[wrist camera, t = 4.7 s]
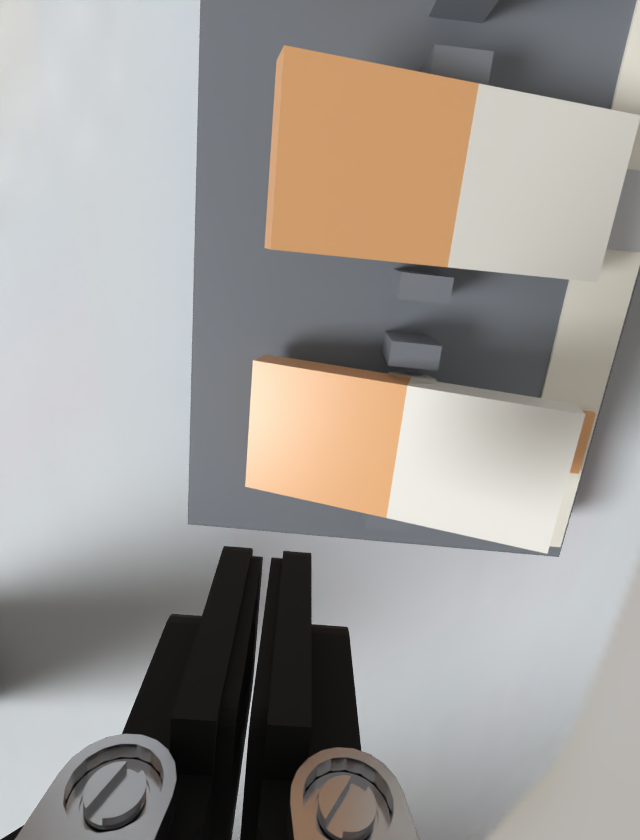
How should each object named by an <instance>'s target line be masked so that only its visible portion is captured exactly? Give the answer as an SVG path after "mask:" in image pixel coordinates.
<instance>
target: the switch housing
mask: <svg viewBox="0 0 640 840" xmlns="http://www.w3.org/2000/svg"><path fill="white" fill-rule="evenodd" d="M284 45H286V46H291V47H296V48H301V49H307V50H312V51H317V52H322V53H327V54H332V55H337V56H342V57H347V58H352V59H357V60H362V61H367V62H372V63H377V64H383V65H388V66H393V67H398V68H403V69H408V70H413V71H418V72H423V73H428V74H433V75H438V76H443V77H448V78H454V79H459V80H464V81H469V82H474V83H479V84H484V85H489V86H494V87H499V88H504V89H509V90H514V91H519V92H524V93H530V94H535V95H540V96H545V97H550V98H555V99H560V100H565V101H570V102H575V103H580V104H585V105H590V106H595V107H600V108H606V109H611V110H616V111H621V112H626V113H631V114H636V115H640V0H201V3H200V44H199V85H198V126H197V167H196V208H195V249H194V290H193V331H192V372H191V414H190V455H189V496H188V524H193V525H204V526H215V527H227V528H238V529H249V530H261V531H272V532H283V533H295V534H306V535H317V536H329V537H340V538H351V539H363V540H374V541H385V542H397V543H408V544H419V545H430V546H442V547H453V548H464V549H476V550H487V551H498V552H510V553H521V554H532V555H544V556H555V557H559V555H560V551H561V548H562V544H563V541H564V537H565V534H566V530H567V526H568V523H569V519H570V516H571V512H572V509H573V505H574V502H575V498H576V494H577V491H578V487H579V484H580V480H581V477H582V473H583V470H584V466H585V463H586V459H587V455H588V452H589V448H590V445H591V441H592V438H593V434H594V431H595V427H596V423H597V420H598V416H599V413H600V409H601V406H602V402H603V399H604V395H605V392H606V388H607V384H608V381H609V377H610V374H611V370H612V367H613V363H614V360H615V356H616V352H617V349H618V345H619V342H620V338H621V335H622V331H623V328H624V324H625V321H626V317H627V313H628V310H629V306H630V303H631V299H632V296H633V292H634V289H635V285H636V281H637V278H638V274H639V271H640V121H639V125H638V129H637V133H636V137H635V140H634V144H633V148H632V152H631V156H630V160H629V164H628V167H627V171H626V175H625V179H624V183H623V187H622V191H621V194H620V198H619V202H618V206H617V210H616V214H615V218H614V221H613V225H612V229H611V233H610V237H609V241H608V245H607V248H606V252H605V256H604V260H603V264H602V268H601V272H600V275H599V279H598V282H588V281H578V280H568V279H558V278H548V277H538V276H529V275H519V274H509V273H499V272H489V271H479V270H469V269H459V268H449V267H439V266H429V265H419V264H409V263H400V262H390V261H380V260H370V259H360V258H350V257H340V256H330V255H320V254H310V253H300V252H290V251H280V250H271V249H267V248H264V247H265V231H266V216H267V200H268V185H269V169H270V153H271V138H272V122H273V107H274V91H275V76H276V60H277V58H278V56H279V54H280V52H281V50H282V49H283V47H284ZM266 354H268V355H274V356H281V357H287V358H293V359H299V360H306V361H312V362H318V363H324V364H331V365H337V366H343V367H349V368H356V369H362V370H368V371H374V372H381V373H389V372H394V371H405V372H414V373H419V374H424V375H427V376H430V377H433V378H435V379H436V380H437V382H443V383H450V384H456V385H462V386H468V387H475V388H481V389H487V390H493V391H500V392H506V393H512V394H518V395H525V396H531V397H537V398H543V399H550V400H556V401H562V402H569V403H575V404H578V405H579V407H580V408H581V409H582V411H583V412H584V414H585V418H584V422H583V425H582V429H581V433H580V436H579V440H578V444H577V447H576V451H575V455H574V458H573V462H572V465H571V469H570V473H569V476H568V480H567V484H566V487H565V491H564V495H563V498H562V502H561V506H560V509H559V513H558V517H557V520H556V524H555V528H554V531H553V535H552V539H551V542H550V546H549V550H548V553H547V554H546V553H541V552H537V551H532V550H528V549H523V548H519V547H514V546H510V545H505V544H501V543H496V542H492V541H487V540H483V539H478V538H474V537H469V536H465V535H460V534H456V533H451V532H447V531H442V530H438V529H433V528H429V527H425V526H420V525H416V524H411V523H407V522H402V521H398V520H393V519H389V518H384V517H380V516H375V515H371V514H366V513H362V512H357V511H353V510H348V509H344V508H339V507H335V506H330V505H326V504H321V503H317V502H312V501H308V500H303V499H299V498H294V497H290V496H285V495H281V494H276V493H272V492H267V491H263V490H258V489H254V488H249V487H245V481H246V465H247V449H248V432H249V416H250V400H251V384H252V367H253V360H255V359H257V358H259V357H261V356H264V355H266Z"/></svg>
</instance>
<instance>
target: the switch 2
mask: <svg viewBox="0 0 640 840" xmlns="http://www.w3.org/2000/svg"><path fill="white" fill-rule="evenodd" d="M584 418H585V414H584V412H583V411H582V409H581V408H580V407H579V405H578V404H575V403H569V402H562V401H556V400H550V399H543V398H537V397H531V396H525V395H518V394H512V393H506V392H500V391H493V390H487V389H481V388H475V387H468V386H462V385H456V384H450V383H443V382H437V380H436V379H435V378H433V377H430V376H427V375H424V374H419V373H414V372H405V371H394V372H389V373H381V372H374V371H368V370H362V369H356V368H349V367H343V366H337V365H331V364H324V363H318V362H312V361H306V360H299V359H293V358H287V357H281V356H274V355H268V354H266V355H264V356H261V357H259V358H257V359H255V360H253V367H252V384H251V400H250V416H249V432H248V449H247V465H246V481H245V487H249V488H254V489H258V490H263V491H267V492H272V493H276V494H281V495H285V496H290V497H294V498H299V499H303V500H308V501H312V502H317V503H321V504H326V505H330V506H335V507H339V508H344V509H348V510H353V511H357V512H362V513H366V514H371V515H375V516H380V517H384V518H389V519H393V520H398V521H402V522H407V523H411V524H416V525H420V526H425V527H429V528H433V529H438V530H442V531H447V532H451V533H456V534H460V535H465V536H469V537H474V538H478V539H483V540H487V541H492V542H496V543H501V544H505V545H510V546H514V547H519V548H523V549H528V550H532V551H537V552H541V553H546V554H547V553H548V550H549V546H550V542H551V539H552V535H553V531H554V528H555V524H556V520H557V517H558V513H559V509H560V506H561V502H562V498H563V495H564V491H565V487H566V484H567V480H568V476H569V473H570V469H571V465H572V462H573V458H574V455H575V451H576V447H577V444H578V440H579V436H580V433H581V429H582V425H583V422H584Z"/></svg>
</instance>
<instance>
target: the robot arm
mask: <svg viewBox="0 0 640 840" xmlns="http://www.w3.org/2000/svg"><path fill="white" fill-rule="evenodd" d="M252 553H253V550H252V548H240V547H228V546H224V547H223V550H222V553H221V557H220V560H219V563H218V566H217V570H216V573H215V576H214V579H213V583H212V586H211V589H210V592H209V596H208V599H207V602H206V605H205V609H204V612H203V615H202V616H193V615H179V614H172V615H170V617H169V619H168V621H167V623H166V625H165V628H164V630H163V633H162V635H161V638H160V640H159V643H158V645H157V648H156V650H155V653H154V655H153V658H152V660H151V663H150V665H149V668H148V670H147V673H146V675H145V678H144V680H143V683H142V685H141V688H140V690H139V693H138V695H137V698H136V700H135V703H134V705H133V708H132V710H131V713H130V715H129V718H128V720H127V723H126V725H125V728H124V730H123V733H122V734H121V735H116V736H111V737H106V738H104V739H102V740H99V741H97V742H95V743H93V744H90V745H88V746H87V747H86V748H84V749H83V750H82V751H80V752H79V753H78V754H76V755H75V756H73V757H72V758H71V760H70V761H69V762H68V763H67V764H66V765H65V767H64V768H63V769H62V770H61V771H60V772H59V774H58V775H57V777H56V778H55V780H54V781H53V783H52V784H51V786H50V787H49V789H48V790H47V792H46V793H45V795H44V796H43V798H42V799H41V801H40V802H39V804H38V805H37V807H36V808H35V810H34V811H33V813H32V814H31V816H30V817H29V819H28V820H27V822H26V823H25V825H23V826H22V827H20V828H19V829H17V830H15V831H14V832H12V833H11V834H9V835H7V836H6V837H4V838H3V839H1V840H231V838H232V831H233V824H234V817H235V809H236V802H237V795H238V788H239V780H240V773H241V766H242V759H243V751H244V744H245V737H246V730H247V722H248V715H249V708H250V701H251V693H252V685H253V675H254V663H255V651H256V638H257V625H258V613H259V600H260V587H261V575H262V562H263V557H256V556H252ZM240 840H419V839H418V835H417V832H416V829H415V826H414V823H413V820H412V817H411V814H410V811H409V808H408V805H407V802H406V799H405V796H404V793H403V791H402V789H401V787H400V785H399V783H398V781H397V779H396V777H395V776H394V775H393V773H392V772H391V771H390V770H389V769H388V768H387V767H386V766H385V764H383V763H382V762H381V761H379V760H378V759H376V758H375V757H373V756H372V755H370V754H368V753H365V752H362V751H361V744H360V735H359V725H358V715H357V705H356V696H355V686H354V676H353V667H352V657H351V647H350V638H349V631H348V628H347V627H341V626H327V625H314V624H311V553H302V552H290V551H283V559H281V558H271V566H270V573H269V581H268V588H267V596H266V603H265V611H264V618H263V626H262V633H261V641H260V648H259V656H258V663H257V671H256V678H255V686H254V693H253V701H252V708H251V717H250V726H249V737H248V749H247V761H246V774H245V787H244V799H243V812H242V825H241V838H240Z"/></svg>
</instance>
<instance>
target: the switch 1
mask: <svg viewBox="0 0 640 840" xmlns="http://www.w3.org/2000/svg"><path fill="white" fill-rule="evenodd" d="M639 121H640V115H636V114H631V113H626V112H621V111H616V110H611V109H606V108H600V107H595V106H590V105H585V104H580V103H575V102H570V101H565V100H560V99H555V98H550V97H545V96H540V95H535V94H530V93H524V92H519V91H514V90H509V89H504V88H499V87H494V86H489V85H484V84H479V83H474V82H469V81H464V80H459V79H454V78H448V77H443V76H438V75H433V74H428V73H423V72H418V71H413V70H408V69H403V68H398V67H393V66H388V65H383V64H377V63H372V62H367V61H362V60H357V59H352V58H347V57H342V56H337V55H332V54H327V53H322V52H317V51H312V50H307V49H301V48H296V47H291V46H286V45H284V47H283V49H282V50H281V52H280V54H279V56H278V58H277V60H276V76H275V91H274V107H273V122H272V138H271V153H270V169H269V185H268V200H267V216H266V231H265V247H264V248H267V249H271V250H280V251H290V252H300V253H310V254H320V255H330V256H340V257H350V258H360V259H370V260H380V261H390V262H400V263H409V264H419V265H429V266H439V267H449V268H459V269H469V270H479V271H489V272H499V273H509V274H519V275H529V276H538V277H548V278H558V279H568V280H578V281H588V282H598V279H599V275H600V272H601V268H602V264H603V260H604V256H605V252H606V248H607V245H608V241H609V237H610V233H611V229H612V225H613V221H614V218H615V214H616V210H617V206H618V202H619V198H620V194H621V191H622V187H623V183H624V179H625V175H626V171H627V167H628V164H629V160H630V156H631V152H632V148H633V144H634V140H635V137H636V133H637V129H638V125H639Z"/></svg>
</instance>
